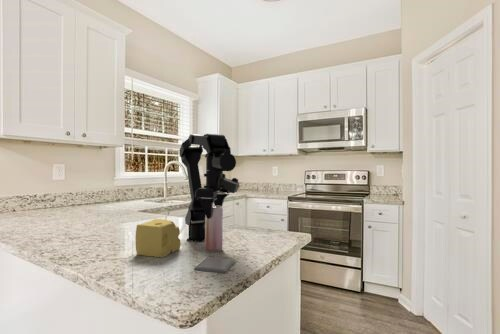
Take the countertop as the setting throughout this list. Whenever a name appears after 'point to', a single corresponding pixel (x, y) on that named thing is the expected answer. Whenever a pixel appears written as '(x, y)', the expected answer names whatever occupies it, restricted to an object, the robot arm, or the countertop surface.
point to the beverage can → (214, 230)
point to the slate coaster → (215, 265)
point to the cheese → (157, 238)
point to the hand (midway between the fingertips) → (214, 216)
